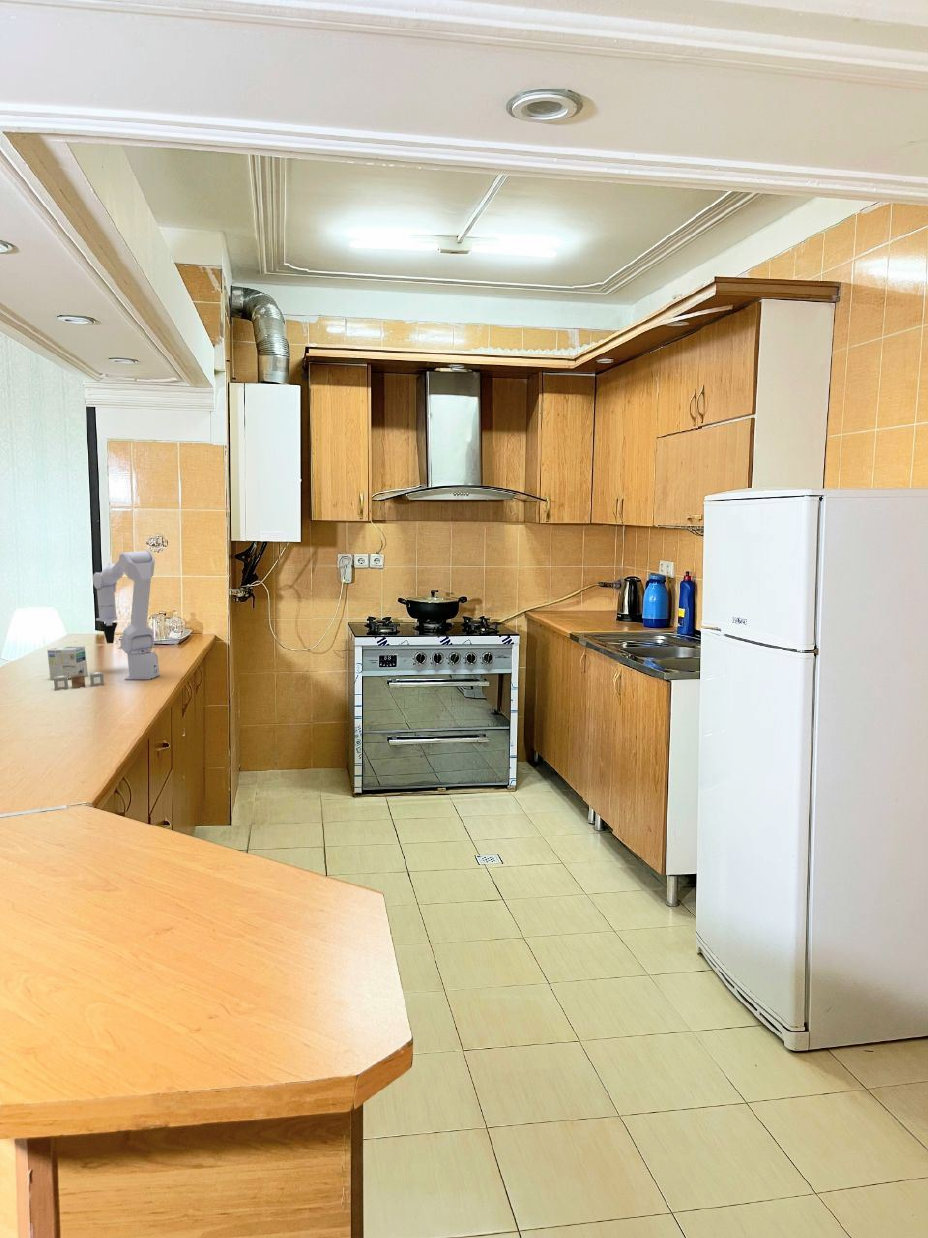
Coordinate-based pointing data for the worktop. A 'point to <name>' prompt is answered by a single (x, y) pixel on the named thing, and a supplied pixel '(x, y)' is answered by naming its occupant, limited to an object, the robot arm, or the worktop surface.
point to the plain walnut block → (78, 680)
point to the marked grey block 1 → (60, 682)
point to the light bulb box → (67, 661)
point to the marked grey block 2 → (96, 678)
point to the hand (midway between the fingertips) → (110, 643)
